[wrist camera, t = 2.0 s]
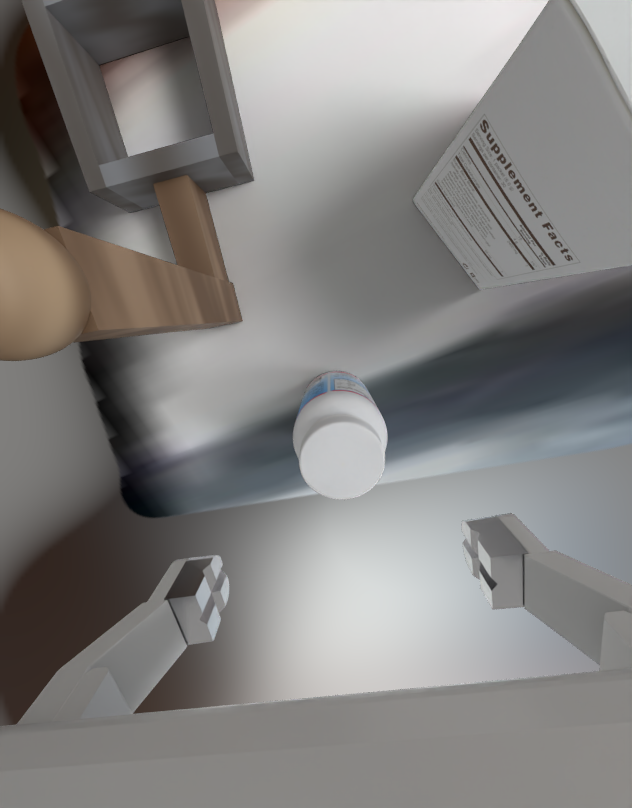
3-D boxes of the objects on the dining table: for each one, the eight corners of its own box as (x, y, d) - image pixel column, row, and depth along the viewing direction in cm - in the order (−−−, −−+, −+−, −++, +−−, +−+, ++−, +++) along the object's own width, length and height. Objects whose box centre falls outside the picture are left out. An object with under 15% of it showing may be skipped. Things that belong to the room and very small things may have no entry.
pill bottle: (315, 442, 28) (305, 523, 17) (293, 381, 26) (267, 427, 15) (378, 424, 27) (410, 497, 16) (360, 360, 25) (382, 393, 14)
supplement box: (517, 90, 20) (1025, -524, 5) (586, 203, 21) (1119, -32, 7) (407, 199, 22) (556, -30, 7) (477, 294, 23) (713, 260, 9)
